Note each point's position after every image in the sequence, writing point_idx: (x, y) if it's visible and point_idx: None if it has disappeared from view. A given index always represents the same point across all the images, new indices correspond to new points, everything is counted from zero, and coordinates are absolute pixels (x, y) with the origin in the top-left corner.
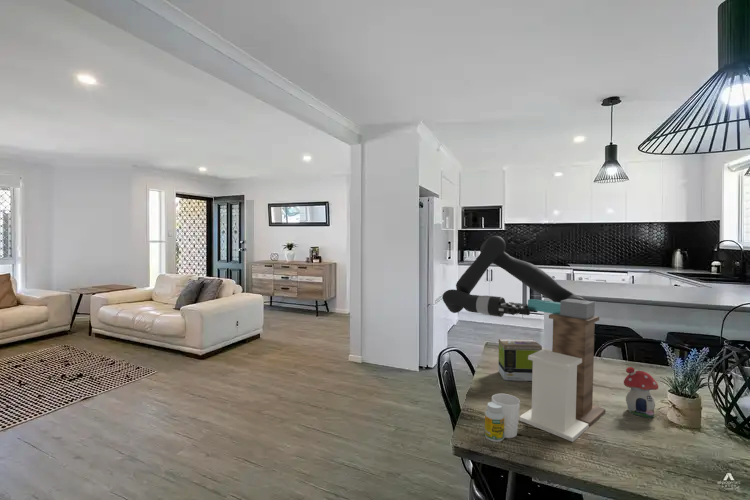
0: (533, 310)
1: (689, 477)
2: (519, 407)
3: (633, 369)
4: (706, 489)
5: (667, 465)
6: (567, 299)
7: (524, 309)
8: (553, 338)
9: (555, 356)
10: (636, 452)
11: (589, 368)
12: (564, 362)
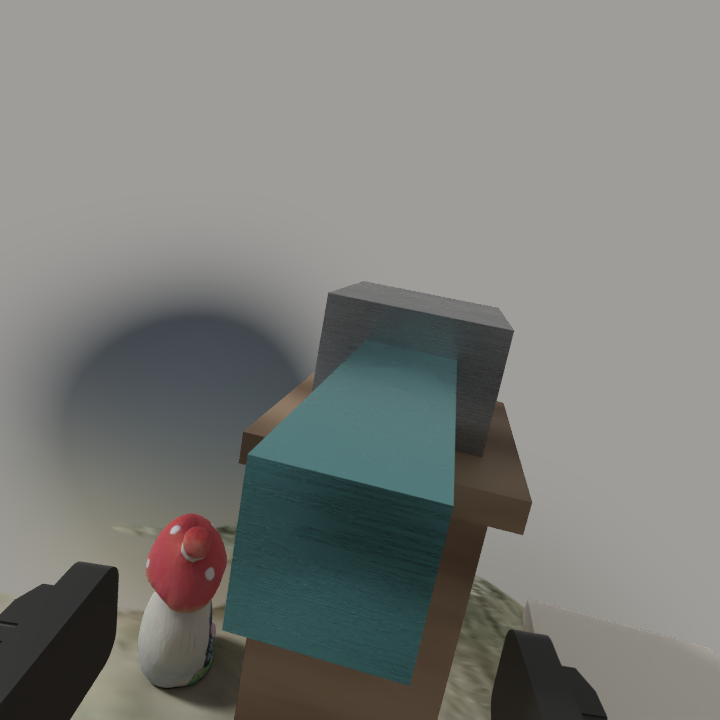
0: (79, 674)
1: (502, 627)
2: None
3: (205, 530)
4: (521, 614)
5: (488, 651)
6: (393, 304)
7: (568, 709)
8: (449, 667)
9: (635, 707)
10: (484, 701)
11: None
12: (683, 663)
